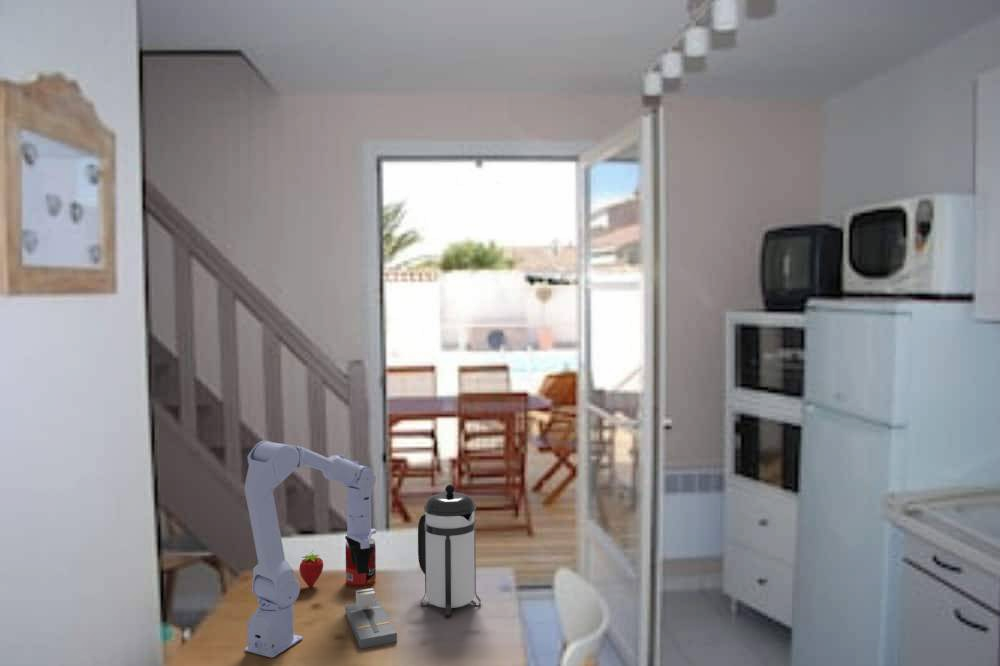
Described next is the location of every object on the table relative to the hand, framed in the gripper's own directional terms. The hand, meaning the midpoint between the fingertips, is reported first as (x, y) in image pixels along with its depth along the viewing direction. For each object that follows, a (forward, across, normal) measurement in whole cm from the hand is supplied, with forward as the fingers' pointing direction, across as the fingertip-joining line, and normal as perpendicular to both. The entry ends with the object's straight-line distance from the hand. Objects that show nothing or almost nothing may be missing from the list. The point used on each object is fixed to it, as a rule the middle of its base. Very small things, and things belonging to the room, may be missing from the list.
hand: (359, 568), depth 167 cm
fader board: (+9, -12, 0) cm, 15 cm away
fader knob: (+7, -7, 0) cm, 10 cm away
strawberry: (+10, +17, +10) cm, 22 cm away
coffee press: (+10, -7, -20) cm, 23 cm away
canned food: (+10, +16, -3) cm, 18 cm away
